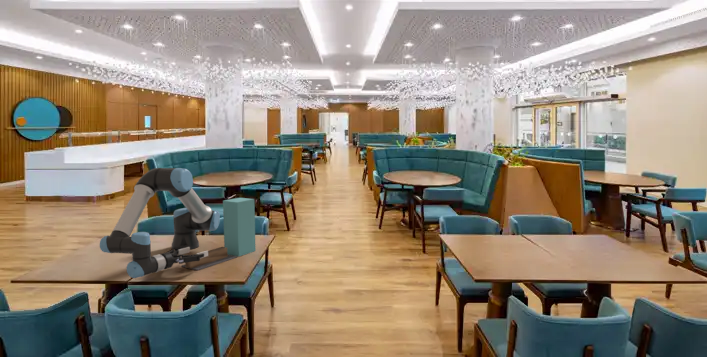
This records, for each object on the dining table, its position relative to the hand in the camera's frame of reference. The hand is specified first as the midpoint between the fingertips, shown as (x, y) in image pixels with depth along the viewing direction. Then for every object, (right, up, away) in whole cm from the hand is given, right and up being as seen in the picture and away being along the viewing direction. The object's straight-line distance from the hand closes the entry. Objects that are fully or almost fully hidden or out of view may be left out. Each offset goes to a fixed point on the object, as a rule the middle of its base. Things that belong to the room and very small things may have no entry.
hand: (198, 251), depth 224 cm
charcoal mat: (+4, -7, +7) cm, 11 cm away
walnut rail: (+3, -6, +6) cm, 9 cm away
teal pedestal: (+15, -5, +26) cm, 30 cm away
